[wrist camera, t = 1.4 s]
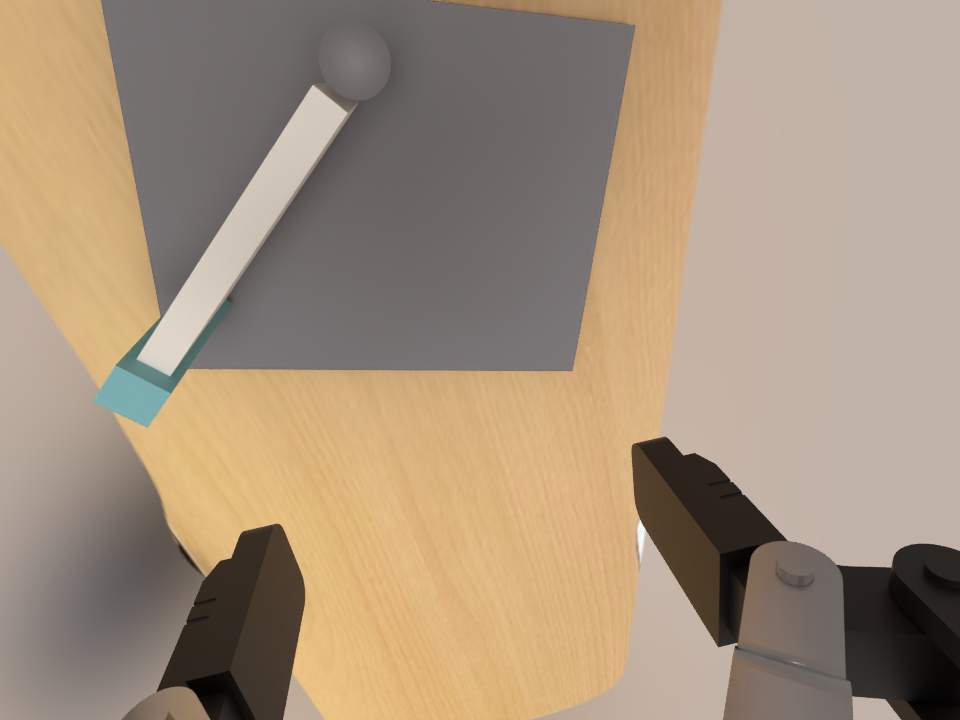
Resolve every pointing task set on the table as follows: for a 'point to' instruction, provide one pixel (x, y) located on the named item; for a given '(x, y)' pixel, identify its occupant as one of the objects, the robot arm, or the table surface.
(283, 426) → the table surface
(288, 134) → the cream barrier panel
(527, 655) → the table surface
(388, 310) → the mat
